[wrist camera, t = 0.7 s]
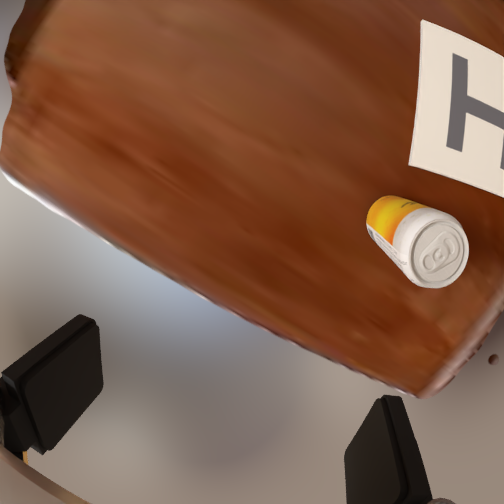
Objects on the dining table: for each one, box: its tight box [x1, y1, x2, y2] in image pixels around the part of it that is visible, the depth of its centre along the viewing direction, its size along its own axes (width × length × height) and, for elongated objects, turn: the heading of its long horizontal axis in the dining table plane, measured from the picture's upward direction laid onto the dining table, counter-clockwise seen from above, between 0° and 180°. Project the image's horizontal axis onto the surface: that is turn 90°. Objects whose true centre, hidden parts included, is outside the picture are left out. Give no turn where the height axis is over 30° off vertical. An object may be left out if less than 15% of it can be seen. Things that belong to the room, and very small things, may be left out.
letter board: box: [409, 20, 504, 198], centre depth 28 cm, size 20×20×1 cm
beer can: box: [367, 196, 469, 288], centre depth 27 cm, size 6×6×15 cm
